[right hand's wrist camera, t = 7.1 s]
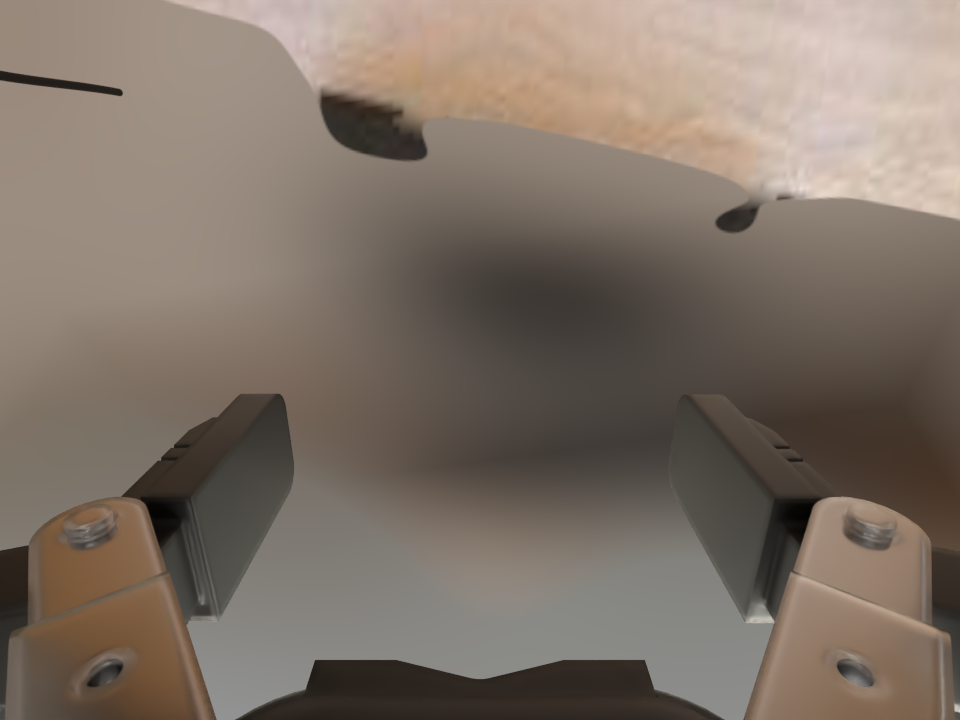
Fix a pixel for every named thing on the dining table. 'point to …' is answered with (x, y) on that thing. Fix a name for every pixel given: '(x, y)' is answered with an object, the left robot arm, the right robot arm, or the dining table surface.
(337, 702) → the right robot arm
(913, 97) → the dining table surface
